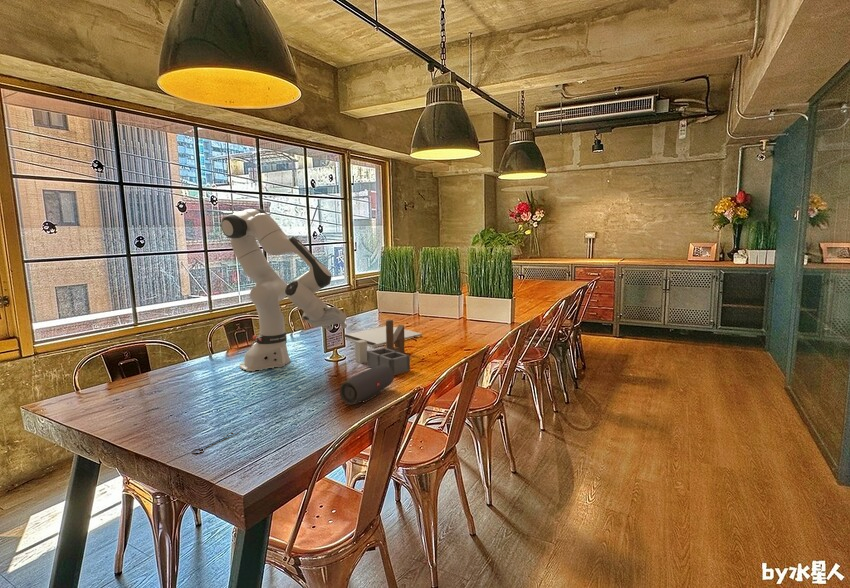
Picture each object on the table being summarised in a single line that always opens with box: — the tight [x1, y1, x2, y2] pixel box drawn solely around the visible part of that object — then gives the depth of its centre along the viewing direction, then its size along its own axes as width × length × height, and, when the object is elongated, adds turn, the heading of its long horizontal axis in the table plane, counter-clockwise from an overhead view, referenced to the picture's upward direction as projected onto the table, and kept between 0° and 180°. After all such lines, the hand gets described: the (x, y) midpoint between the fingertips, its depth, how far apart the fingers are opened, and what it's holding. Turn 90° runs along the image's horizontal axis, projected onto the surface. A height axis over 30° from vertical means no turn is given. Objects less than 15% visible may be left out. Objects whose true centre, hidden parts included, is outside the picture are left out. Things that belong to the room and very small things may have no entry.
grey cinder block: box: [366, 347, 411, 376], centre depth 202 cm, size 10×18×7 cm, turn 41°
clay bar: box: [354, 340, 368, 365], centre depth 213 cm, size 4×4×10 cm
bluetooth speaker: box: [339, 365, 395, 406], centre depth 168 cm, size 23×9×10 cm, turn 151°
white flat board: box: [345, 325, 423, 349], centre depth 261 cm, size 35×2×31 cm
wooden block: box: [385, 319, 406, 354], centre depth 224 cm, size 4×11×18 cm, turn 142°
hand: (338, 328), depth 203 cm, fingers open, 8 cm apart
